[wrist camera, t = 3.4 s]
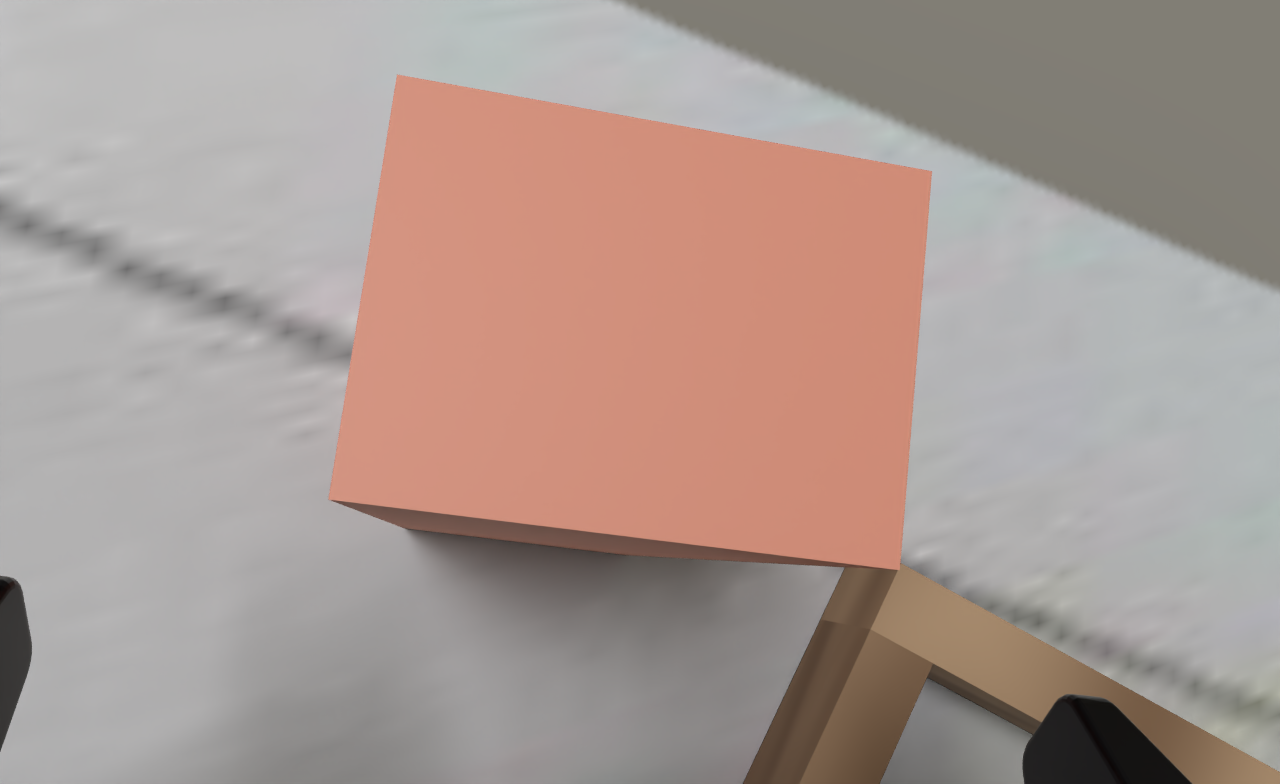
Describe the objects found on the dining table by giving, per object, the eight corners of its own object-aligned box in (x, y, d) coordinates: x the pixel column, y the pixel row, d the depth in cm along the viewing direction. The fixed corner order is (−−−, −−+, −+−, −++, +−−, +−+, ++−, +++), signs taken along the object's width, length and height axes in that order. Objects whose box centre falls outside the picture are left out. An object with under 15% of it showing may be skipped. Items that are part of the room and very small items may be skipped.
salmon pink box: (627, 555, 20) (900, 571, 8) (404, 527, 20) (328, 499, 7) (646, 392, 21) (930, 171, 8) (429, 361, 20) (396, 74, 8)
